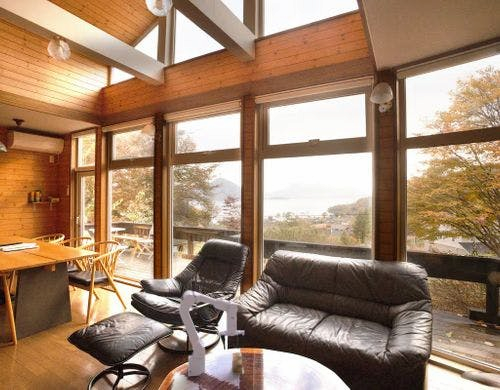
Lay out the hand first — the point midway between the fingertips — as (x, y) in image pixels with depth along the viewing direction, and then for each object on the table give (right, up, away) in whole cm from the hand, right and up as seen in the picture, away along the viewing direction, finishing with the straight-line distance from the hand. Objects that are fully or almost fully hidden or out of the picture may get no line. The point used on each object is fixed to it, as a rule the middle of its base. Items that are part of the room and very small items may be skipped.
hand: (231, 348), depth 169 cm
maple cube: (+4, -6, -5) cm, 8 cm away
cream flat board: (+4, -10, -4) cm, 12 cm away
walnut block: (+4, -10, -5) cm, 11 cm away
